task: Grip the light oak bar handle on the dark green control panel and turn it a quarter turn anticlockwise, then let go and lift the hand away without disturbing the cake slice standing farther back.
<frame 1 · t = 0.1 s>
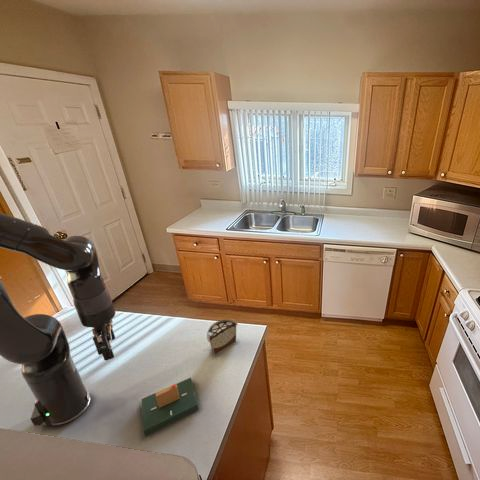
hand: (110, 348, 77), 17 cm above the counter, tool pointing down, fingers open, 8 cm apart
handle: (167, 395, 77), point 5 cm above the counter, hinge at 0.0°
panel: (170, 406, 79), on the counter
cake slice: (221, 345, 103), on the counter
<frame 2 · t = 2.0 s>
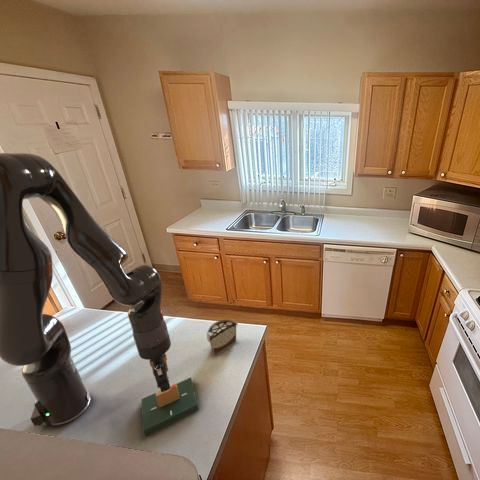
hand: (164, 378, 74), 12 cm above the counter, tool pointing down, fingers open, 8 cm apart
nothing on the counter moved.
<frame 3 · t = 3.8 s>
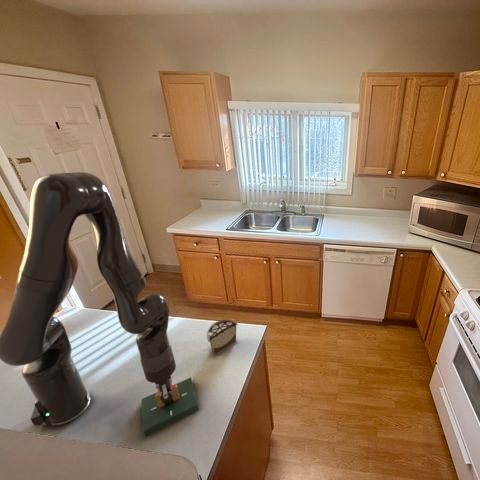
hand: (169, 400, 78), 3 cm above the counter, tool pointing down, fingers closed
handle: (167, 395, 77), point 5 cm above the counter, hinge at 0.0°, touching gripper
everything else where it was.
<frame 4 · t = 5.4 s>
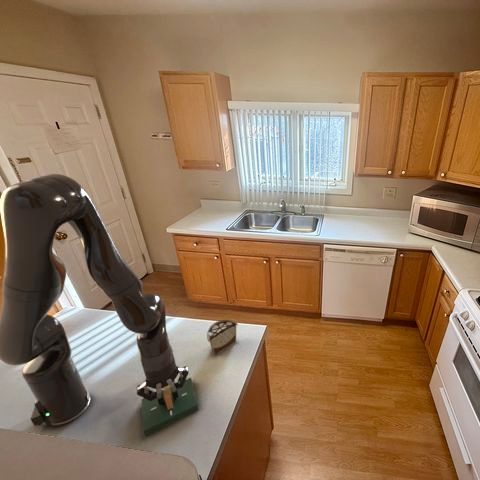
hand: (169, 400, 78), 3 cm above the counter, tool pointing down, fingers closed
handle: (167, 395, 77), point 5 cm above the counter, hinge at 90.4°
everything else where it was.
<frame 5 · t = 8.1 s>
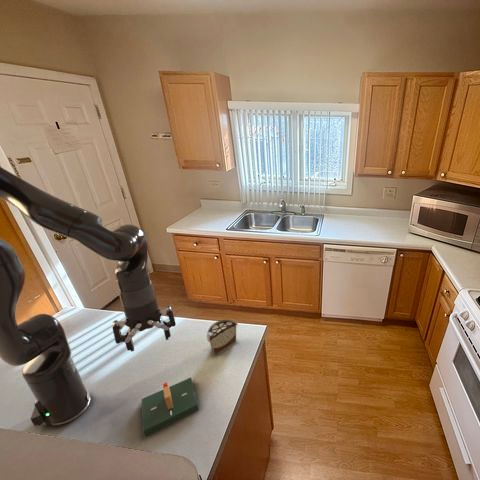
hand: (150, 343, 75), 21 cm above the counter, tool pointing down, fingers open, 8 cm apart
nothing on the counter moved.
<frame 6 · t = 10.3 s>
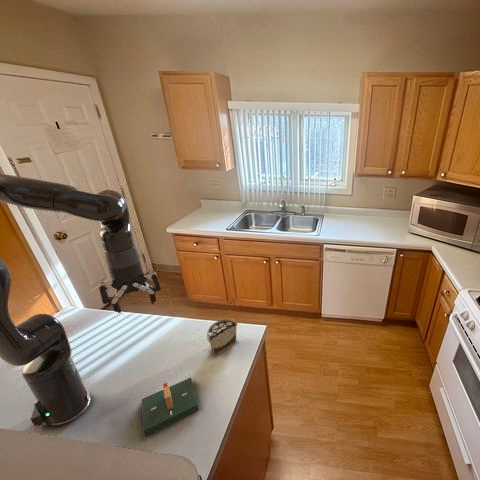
hand: (136, 306, 79), 28 cm above the counter, tool pointing down, fingers open, 8 cm apart
nothing on the counter moved.
at the end: handle at +90° (first picture: +0°); cake slice 0.0 cm from the target spot on the counter beside the panel, on the counter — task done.
